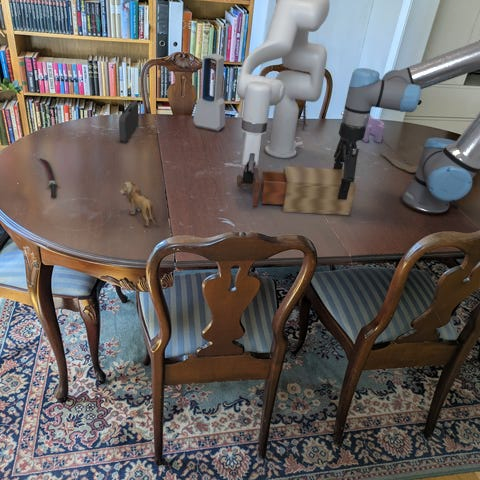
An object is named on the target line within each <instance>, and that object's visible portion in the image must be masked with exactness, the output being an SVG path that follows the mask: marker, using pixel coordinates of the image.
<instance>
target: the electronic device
mask: <svg viewBox="0 0 480 480" xmlns="http://www.w3.org/2000/svg"><path fill="white" fill-rule="evenodd" d="M212 61H214V62H215V66H214V83H213V84H214V85H213V95H210V87H211V72H212V71H211V69H212ZM224 63H225V56H223V55H221V54H219V53H209V54H207V55H205V56H202V63H201V64H202V65H201V66H202V67H201V87H200V98H198V99H197V100H196V103H195V108H194V115H193V125H194V126H195V128H201V129H205V130H209V131H214V132H219V131H220V130H222V129H223V128H224V127H225V126H226V101H225V100H224V98H223V97H222V92H223V77H224V65H225V64H224Z"/></svg>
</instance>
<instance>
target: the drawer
mask: <svg viewBox="0 0 480 480" xmlns="http://www.w3.org/2000/svg"><path fill="white" fill-rule="evenodd" d="M236 185H237V187H238V188H242V187H251V198H252V206H253V207H258V199H259V194H260V200H261V204H264V205H278V206H280V205H281V206H282V205H284V199H285V192H286V185H287V182H286V178H285V173H284V172H283V171H272V170H271V171H269V170H262V174H261V183H260V176H259V168H257V167H254V178H253V184H249V183H243V175H241V174H238V175H237V176H236ZM259 190H260V193H259Z"/></svg>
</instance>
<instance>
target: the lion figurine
mask: <svg viewBox="0 0 480 480" xmlns="http://www.w3.org/2000/svg"><path fill="white" fill-rule="evenodd" d="M119 193H120V194H121V196H122V197H124V196H125V198H126V199H127V200H128V202H129V203H130V207H131V211H130V212H129V213H130V215H135V214H136V211H137V212H141V214H142V216H143V218H144V219H145V223H144V225H145V227H149V226H150V221H152V223H153V225H155V226H159V222H156V221H155V219H154V217H153V216H154V215H153V204H152V202H151V200H150V199H148V198H146V197H145V196H144V195H143V194H142V192H141V190H140V187H138V185H136V184H135V183H133V182H132V181H125V182H124V186H122V188H121V189H119ZM136 207H137V208H136ZM148 214H149V216H148Z"/></svg>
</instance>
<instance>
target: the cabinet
mask: <svg viewBox="0 0 480 480" xmlns="http://www.w3.org/2000/svg"><path fill="white" fill-rule="evenodd" d="M282 168H283V169H282V172H284V173H285V178H286V182H287V185H286V192H285V199H284V205H281V206H282V211H283V212H287V213H303V214H304V213H305V214H321V215H323V214H324V215H339V216H340V215H341V216H350V214H351V209H352V205H353V200H354V197H355V194H356V193H355V192H356V188H357V184H356V182H355V181H354V182H351V183H350V187H349V191H348V195H347V199H346V200H344V199H338V198H337V197H338V193H339V189H340V185H341V179H342V178H343V175H344V169H342V170H341V169H333V168H322V167H306V166H289V165H288V166H287V165H284V166H283V167H282Z"/></svg>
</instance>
